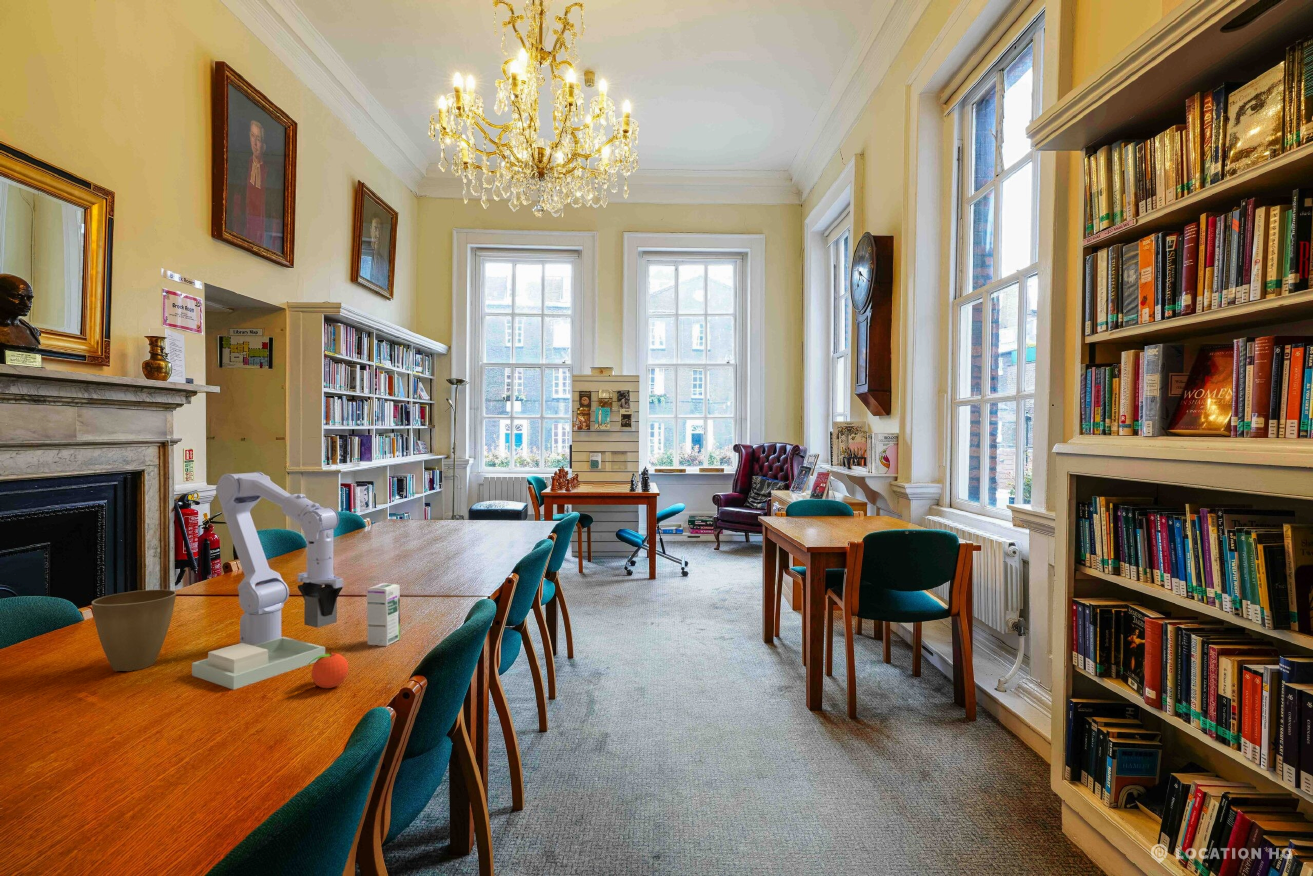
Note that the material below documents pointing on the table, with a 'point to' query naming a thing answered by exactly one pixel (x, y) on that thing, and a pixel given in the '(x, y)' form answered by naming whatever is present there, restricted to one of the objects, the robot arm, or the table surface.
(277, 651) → the pale green tray
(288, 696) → the table surface
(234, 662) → the off-white block
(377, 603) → the syrup box
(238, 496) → the robot arm
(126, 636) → the plant pot
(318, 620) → the tin
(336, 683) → the clementine
